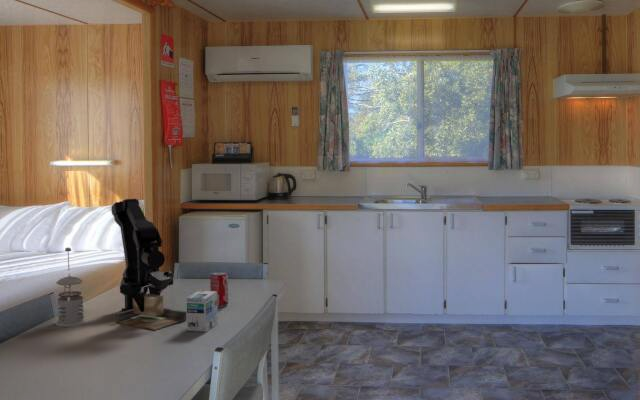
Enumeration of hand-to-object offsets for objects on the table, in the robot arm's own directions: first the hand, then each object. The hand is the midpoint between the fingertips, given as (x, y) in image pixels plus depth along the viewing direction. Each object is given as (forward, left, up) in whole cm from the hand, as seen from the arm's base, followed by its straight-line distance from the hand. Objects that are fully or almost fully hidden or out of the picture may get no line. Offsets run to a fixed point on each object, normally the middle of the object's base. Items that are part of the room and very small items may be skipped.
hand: (148, 309), depth 227 cm
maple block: (0, 0, -1) cm, 1 cm away
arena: (+3, -1, -3) cm, 4 cm away
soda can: (+8, +27, -4) cm, 28 cm away
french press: (-20, -15, -4) cm, 26 cm away
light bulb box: (+22, +3, -4) cm, 22 cm away
